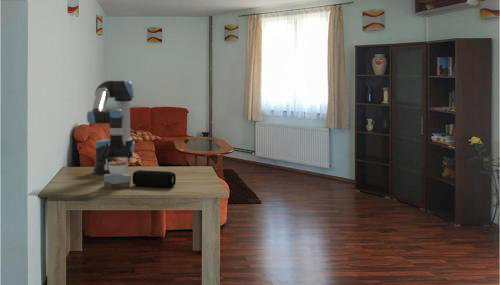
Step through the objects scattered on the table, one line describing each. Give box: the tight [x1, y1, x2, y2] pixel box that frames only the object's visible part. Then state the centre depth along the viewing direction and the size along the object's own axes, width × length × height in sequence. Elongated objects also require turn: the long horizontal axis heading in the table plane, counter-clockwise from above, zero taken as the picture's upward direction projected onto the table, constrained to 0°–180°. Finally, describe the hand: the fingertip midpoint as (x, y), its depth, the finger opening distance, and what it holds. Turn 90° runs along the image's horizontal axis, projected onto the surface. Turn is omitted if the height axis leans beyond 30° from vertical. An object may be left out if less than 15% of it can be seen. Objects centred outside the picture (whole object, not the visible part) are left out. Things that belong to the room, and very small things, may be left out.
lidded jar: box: [108, 159, 127, 176], centre depth 356 cm, size 11×11×9 cm
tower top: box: [103, 172, 132, 184], centre depth 357 cm, size 12×12×4 cm
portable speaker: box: [131, 169, 177, 189], centre depth 360 cm, size 26×10×10 cm, turn 81°
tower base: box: [103, 180, 131, 190], centre depth 358 cm, size 12×12×4 cm
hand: (116, 168), depth 356 cm, fingers open, 13 cm apart
